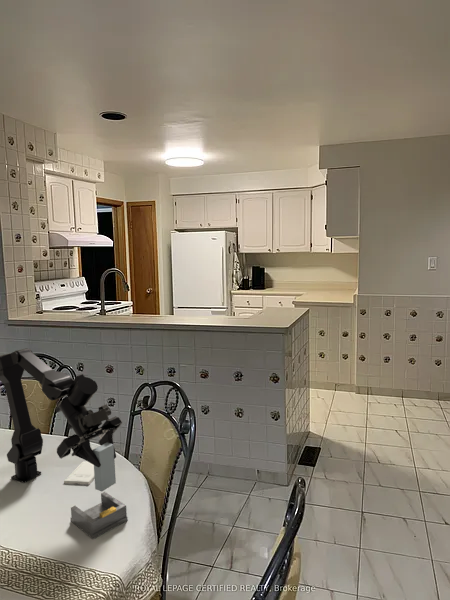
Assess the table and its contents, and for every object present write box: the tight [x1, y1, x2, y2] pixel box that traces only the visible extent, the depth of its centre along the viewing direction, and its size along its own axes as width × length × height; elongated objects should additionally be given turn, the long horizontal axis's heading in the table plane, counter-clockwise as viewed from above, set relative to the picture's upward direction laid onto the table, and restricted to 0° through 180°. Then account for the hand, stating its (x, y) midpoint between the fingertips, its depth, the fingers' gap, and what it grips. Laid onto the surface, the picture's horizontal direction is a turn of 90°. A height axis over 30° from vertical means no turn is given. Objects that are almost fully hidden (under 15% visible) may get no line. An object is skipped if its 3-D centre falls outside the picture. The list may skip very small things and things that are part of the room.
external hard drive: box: [63, 460, 95, 486], centre depth 140 cm, size 2×8×12 cm
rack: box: [70, 491, 129, 540], centre depth 115 cm, size 11×10×5 cm
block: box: [92, 443, 117, 493], centre depth 119 cm, size 2×5×11 cm, turn 148°
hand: (107, 462), depth 118 cm, fingers closed on block, 5 cm apart
